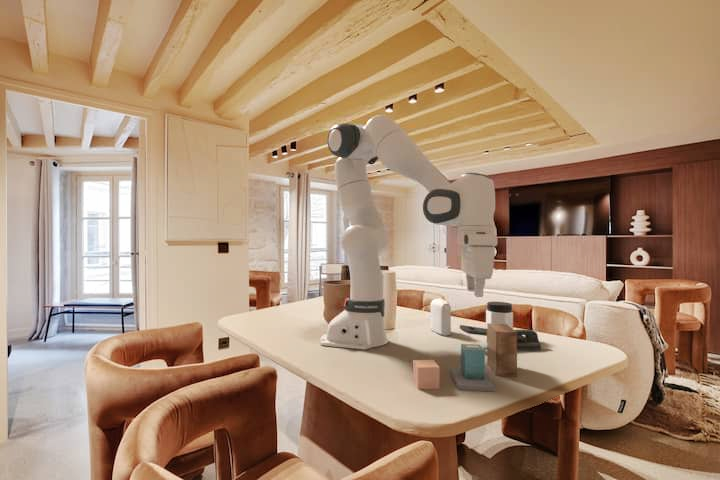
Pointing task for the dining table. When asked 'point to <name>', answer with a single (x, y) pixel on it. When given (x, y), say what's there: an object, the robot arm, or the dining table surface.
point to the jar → (499, 313)
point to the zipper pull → (523, 343)
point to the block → (426, 374)
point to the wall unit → (502, 349)
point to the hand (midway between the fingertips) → (474, 293)
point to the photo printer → (440, 317)
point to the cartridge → (472, 362)
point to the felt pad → (470, 381)
